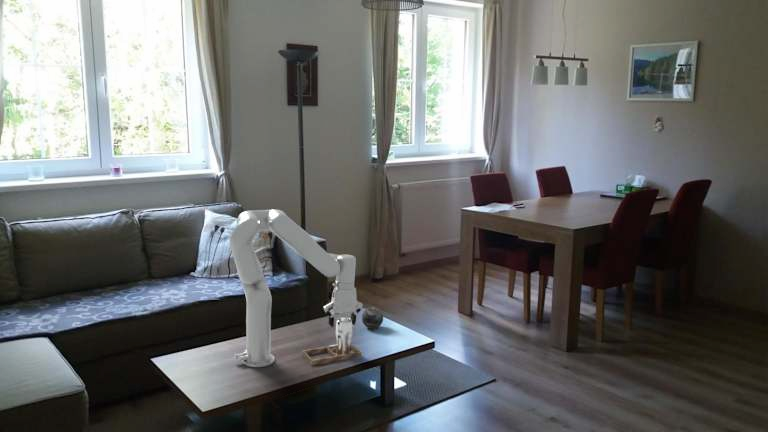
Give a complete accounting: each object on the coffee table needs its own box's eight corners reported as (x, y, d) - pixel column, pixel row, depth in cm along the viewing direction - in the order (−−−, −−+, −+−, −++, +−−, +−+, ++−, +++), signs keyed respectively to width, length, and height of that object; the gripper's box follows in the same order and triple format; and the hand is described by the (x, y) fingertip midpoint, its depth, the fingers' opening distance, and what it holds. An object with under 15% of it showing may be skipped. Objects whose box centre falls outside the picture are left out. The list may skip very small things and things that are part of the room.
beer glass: (352, 351, 262) (353, 317, 260) (350, 358, 256) (351, 323, 253) (336, 350, 263) (337, 316, 260) (333, 356, 256) (334, 322, 253)
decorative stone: (367, 333, 284) (368, 312, 282) (357, 326, 292) (358, 305, 290) (386, 330, 288) (387, 309, 287) (376, 323, 297) (377, 303, 295)
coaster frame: (311, 365, 247) (311, 360, 247) (301, 355, 257) (301, 349, 256) (361, 356, 257) (361, 351, 257) (350, 347, 267) (350, 342, 266)
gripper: (328, 288, 246) (326, 330, 249) (367, 286, 255) (364, 325, 258) (321, 283, 253) (319, 323, 256) (360, 281, 261) (357, 319, 264)
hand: (342, 324), depth 257 cm, fingers open, 9 cm apart
